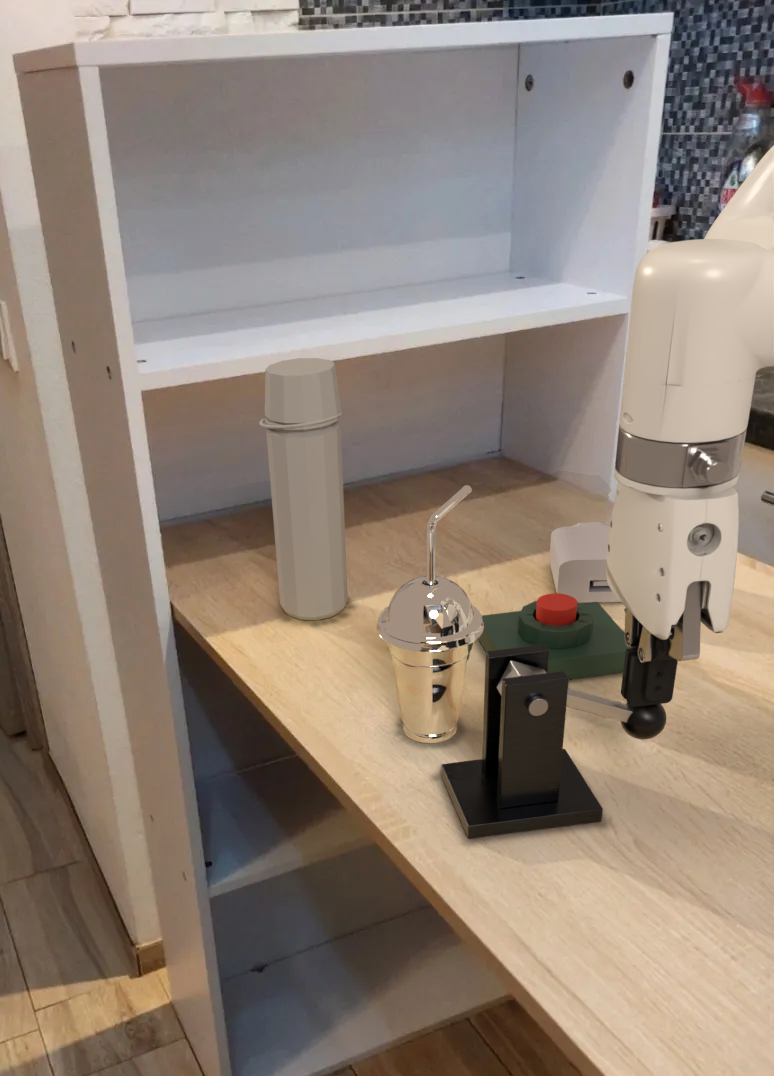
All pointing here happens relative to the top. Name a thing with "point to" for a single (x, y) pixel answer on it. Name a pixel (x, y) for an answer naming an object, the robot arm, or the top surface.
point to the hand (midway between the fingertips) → (645, 698)
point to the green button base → (562, 639)
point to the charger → (581, 562)
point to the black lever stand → (521, 755)
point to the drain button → (556, 609)
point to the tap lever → (603, 706)
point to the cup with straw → (430, 643)
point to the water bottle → (307, 486)
